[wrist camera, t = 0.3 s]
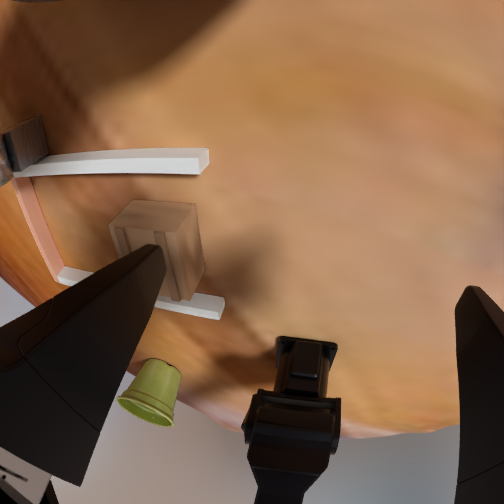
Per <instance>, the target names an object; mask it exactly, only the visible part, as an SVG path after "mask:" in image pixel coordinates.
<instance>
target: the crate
mask: <svg viewBox="0 0 504 504" xmlns="http://www.w3.org/2000/svg"><path fill="white" fill-rule="evenodd" d="M108 228H109V231H110V234H111V237H112V240H113V243H114V246H115V248H116V251H117V254H118V257H119V259H120V258H122V257H124V256H125V255H127V254H129V253H131V252H133V251H135V250H136V249H138V248H140V247H142V246H144V245H146V244H149V243H150V244H157V245H160V246H161V247H162V249H163V254H164V258H165V262H166V268H167V270H166V275H165V278H164V281H163V283H162V286H161V289H160V292H159V294H158V295H161V296H166V297H171V300H172V301H177V302H180V301H181V300H186V301H190V300H191V298H192V296H193V294H194V292H195V290H196V288H197V286H198V284H199V281H200V279H201V277H202V275H203V273H204V271H205V266H204V259H203V253H202V246H201V240H200V233H199V226H198V219H197V212H196V205H195V204H191V203H177V202H162V201H146V200H132V201H131V202H130V203H129V204H128V205H127V206H126V207H125V208H124V209H123V210H122V211H121V212H120V213H119V214H118V215H117V216H116V217H115V218H114V219H113V221H112V222H111V223H110V224H109V225H108Z"/></svg>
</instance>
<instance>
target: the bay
mask: <svg viewBox="0 0 504 504" xmlns="http://www.w3.org/2000/svg"><path fill="white" fill-rule="evenodd" d="M209 163H210V161H209V150H208V148H142V149H120V150H104V151H91V152H79V153H69V154H60V155H51V156H44V157H42V158H41V159H39V160H38V161H36V162H35V163H33V164H32V165H30V166H29V167H27V168H26V169H25V170H23V171H22V172H14V173H13V174H14V177H13V178H12V179H11V181H12V184H13V187H14V190H15V192H16V195H17V198H18V201H19V203H20V206H21V208H22V211H23V213H24V216H25V218H26V221H27V223H28V226H29V228H30V230H31V232H32V235H33V237H34V239H35V241H36V244H37V246H38V248H39V250H40V252H41V254H42V256H43V258H44V260H45V262H46V264H47V266H48V268H49V270H50V272H51V274H52V276H53V278H54V280H55V282H58V283H62V284H65V285H69V286H73V285H74V284H76V283H78V282H79V281H81V280H83V279H84V278H86V277H88V276H90V275H91V274H93V272H89V271H84V270H80V269H75V268H71V267H67V266H65V265H64V263H63V260H62V258H61V256H60V254H59V252H58V250H57V247H56V245H55V243H54V241H53V238H52V236H51V233H50V231H49V229H48V226H47V224H46V221H45V219H44V216H43V214H42V211H41V208H40V206H39V203H38V200H37V197H36V195H35V192H34V189H33V186H32V183H31V180H30V177H29V176H44V175H62V174H90V173H169V174H199V175H200V174H201V173H202V171H203V170H204V169H205V168H206V167H207V166H208V165H209ZM154 307H156V308H161V309H166V310H170V311H175V312H180V313H185V314H190V315H195V316H200V317H205V318H210V319H216V320H220V318H221V315H222V312H223V310H224V307H225V301H224V297H219V296H213V295H207V294H201V293H195V292H194V294H193V296H192V298H191V300H190V301H186V300H181V301H180V302H177V301H172V300H171V297H166V296H161V295H158V297H157V300H156V303H155V306H154Z"/></svg>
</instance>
